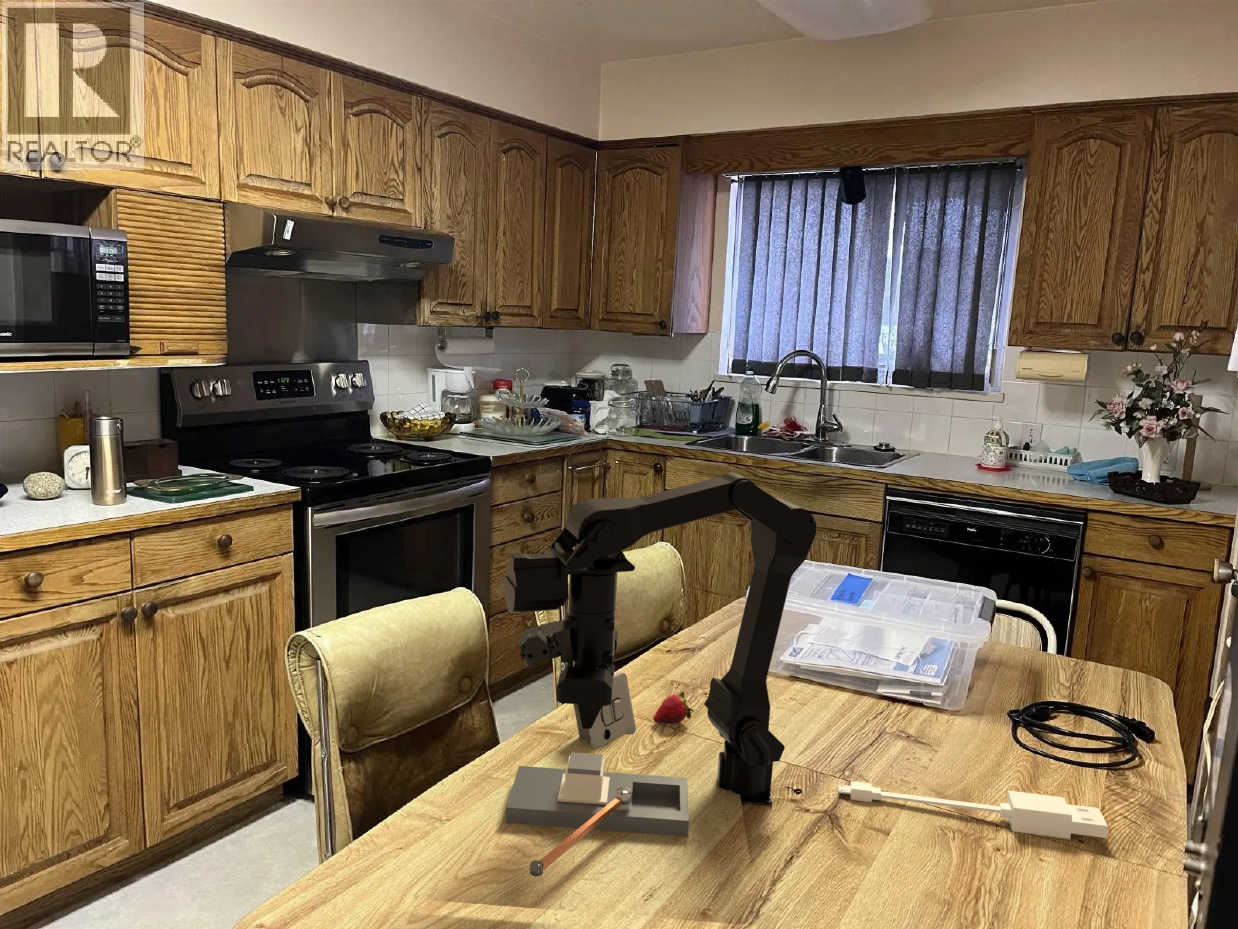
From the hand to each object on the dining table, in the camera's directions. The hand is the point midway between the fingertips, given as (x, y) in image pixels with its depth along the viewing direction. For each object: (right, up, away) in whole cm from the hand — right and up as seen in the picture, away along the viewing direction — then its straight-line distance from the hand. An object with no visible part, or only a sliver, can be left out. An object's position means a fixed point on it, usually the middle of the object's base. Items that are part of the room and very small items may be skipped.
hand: (586, 727), depth 112 cm
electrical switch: (+1, -8, +22) cm, 24 cm away
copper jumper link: (0, -10, -8) cm, 13 cm away
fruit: (+12, -8, +28) cm, 32 cm away
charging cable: (+50, -14, +7) cm, 52 cm away
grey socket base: (+1, -12, +2) cm, 12 cm away
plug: (-1, -10, +2) cm, 11 cm away
